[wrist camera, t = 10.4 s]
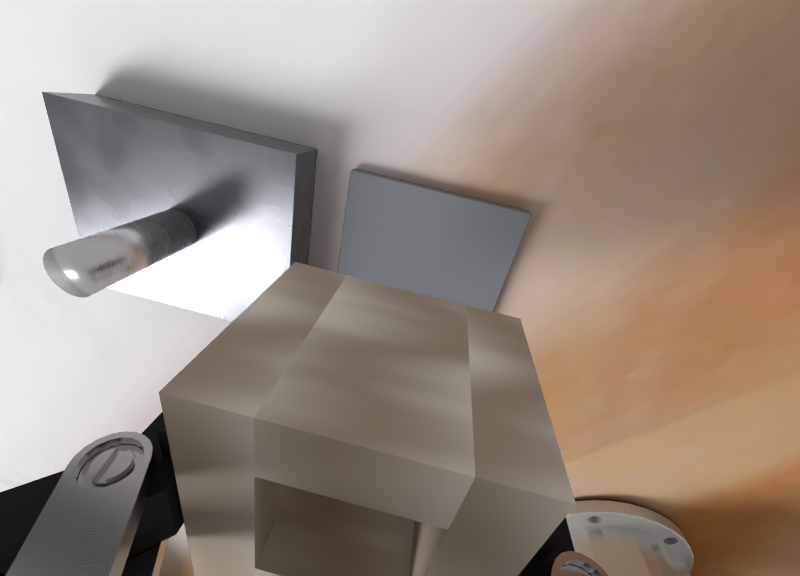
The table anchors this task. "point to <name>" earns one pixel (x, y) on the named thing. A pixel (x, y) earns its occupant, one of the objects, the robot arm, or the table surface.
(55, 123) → the post stand
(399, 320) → the collar
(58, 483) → the robot arm
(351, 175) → the mat
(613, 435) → the table surface
